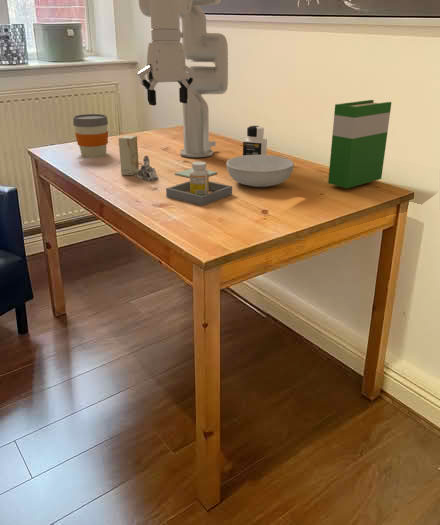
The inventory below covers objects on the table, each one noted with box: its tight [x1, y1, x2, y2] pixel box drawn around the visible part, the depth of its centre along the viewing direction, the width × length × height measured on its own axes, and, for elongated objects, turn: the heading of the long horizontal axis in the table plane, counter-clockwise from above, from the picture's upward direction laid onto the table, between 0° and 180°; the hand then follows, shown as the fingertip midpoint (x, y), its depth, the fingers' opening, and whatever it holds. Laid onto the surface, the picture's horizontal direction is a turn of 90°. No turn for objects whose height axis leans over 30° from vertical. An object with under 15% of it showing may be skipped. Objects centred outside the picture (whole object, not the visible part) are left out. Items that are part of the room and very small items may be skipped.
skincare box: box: [118, 134, 140, 176], centre depth 171 cm, size 6×4×12 cm
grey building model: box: [135, 155, 159, 182], centre depth 167 cm, size 9×9×8 cm
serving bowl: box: [225, 154, 295, 188], centre depth 161 cm, size 21×21×7 cm
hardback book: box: [327, 99, 392, 189], centre depth 160 cm, size 18×7×24 cm, turn 129°
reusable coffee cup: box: [72, 113, 109, 159], centre depth 192 cm, size 13×13×15 cm
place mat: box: [174, 168, 218, 179], centre depth 172 cm, size 10×10×1 cm
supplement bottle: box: [189, 161, 210, 196], centre depth 148 cm, size 5×5×10 cm
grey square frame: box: [165, 180, 233, 207], centre depth 149 cm, size 14×14×2 cm
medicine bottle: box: [242, 125, 268, 156], centre depth 190 cm, size 7×7×12 cm
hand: (168, 103), depth 143 cm, fingers open, 9 cm apart
